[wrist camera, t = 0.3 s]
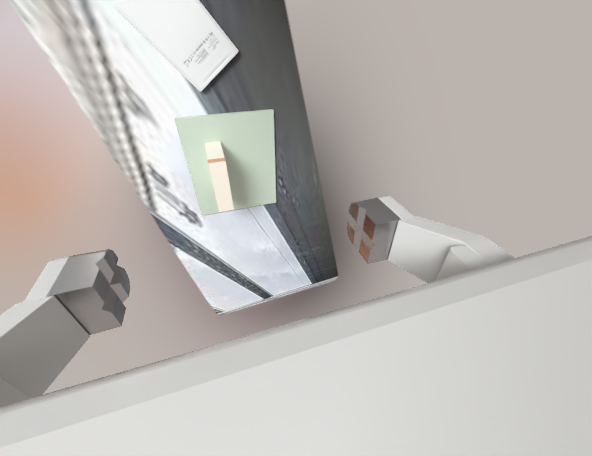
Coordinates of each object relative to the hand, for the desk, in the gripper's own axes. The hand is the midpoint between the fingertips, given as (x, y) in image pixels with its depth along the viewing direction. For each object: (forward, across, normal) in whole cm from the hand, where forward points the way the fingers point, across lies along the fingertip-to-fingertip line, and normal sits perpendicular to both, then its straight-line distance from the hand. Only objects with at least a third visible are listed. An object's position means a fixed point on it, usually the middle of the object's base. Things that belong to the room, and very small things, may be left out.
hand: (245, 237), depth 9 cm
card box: (+41, +1, +14) cm, 43 cm away
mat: (+41, -2, +15) cm, 44 cm away
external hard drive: (+40, +2, -6) cm, 40 cm away
